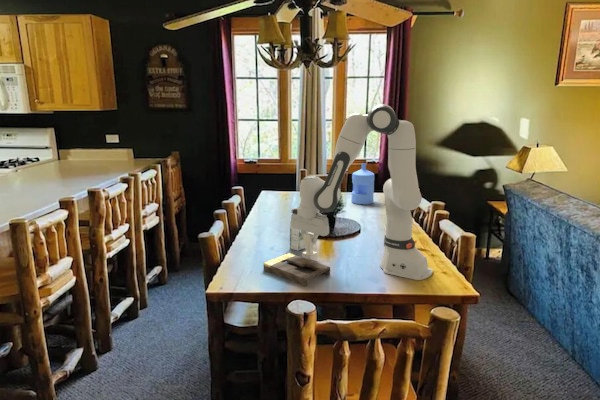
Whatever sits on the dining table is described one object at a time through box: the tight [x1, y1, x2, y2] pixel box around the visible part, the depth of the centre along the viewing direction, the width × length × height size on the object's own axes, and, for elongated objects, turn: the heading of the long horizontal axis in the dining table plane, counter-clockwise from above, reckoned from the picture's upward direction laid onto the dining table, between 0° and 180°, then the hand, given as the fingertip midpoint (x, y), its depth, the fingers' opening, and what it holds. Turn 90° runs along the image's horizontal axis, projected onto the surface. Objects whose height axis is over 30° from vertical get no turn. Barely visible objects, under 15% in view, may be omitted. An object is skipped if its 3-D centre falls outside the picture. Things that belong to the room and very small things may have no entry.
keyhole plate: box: [262, 252, 331, 287], centre depth 179 cm, size 24×16×3 cm, turn 48°
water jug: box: [350, 162, 375, 206], centre depth 296 cm, size 16×16×28 cm
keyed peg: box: [301, 232, 318, 260], centre depth 191 cm, size 5×5×11 cm
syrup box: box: [289, 220, 307, 252], centre depth 206 cm, size 6×6×14 cm
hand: (309, 240), depth 191 cm, fingers closed on keyed peg, 4 cm apart
